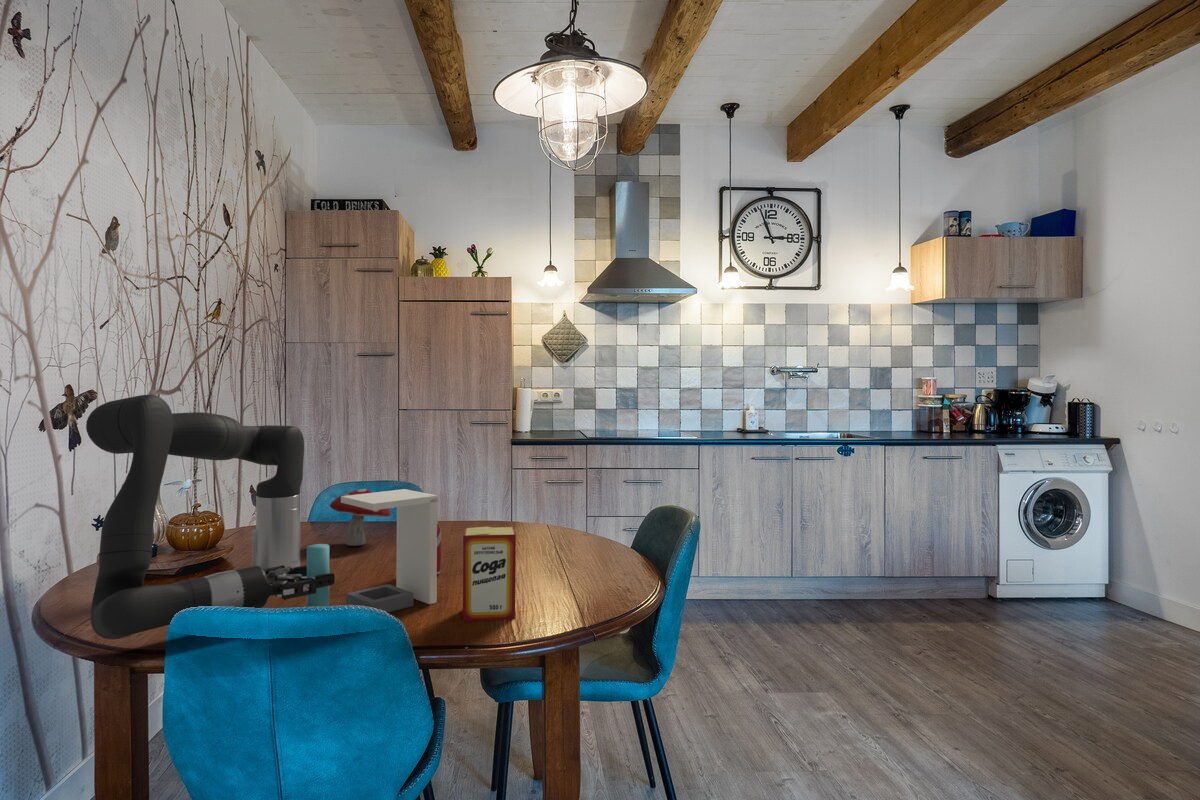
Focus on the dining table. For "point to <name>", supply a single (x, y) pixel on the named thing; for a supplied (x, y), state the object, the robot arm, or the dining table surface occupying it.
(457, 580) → the dining table surface
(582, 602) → the dining table surface
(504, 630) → the dining table surface
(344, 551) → the dining table surface
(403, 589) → the awning socket
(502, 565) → the baking soda box
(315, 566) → the peg
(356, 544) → the decorative mushroom
